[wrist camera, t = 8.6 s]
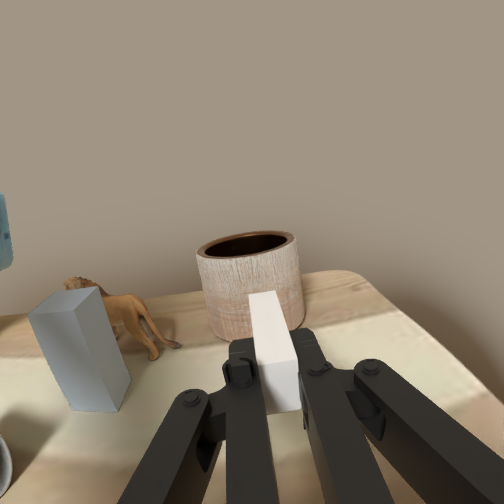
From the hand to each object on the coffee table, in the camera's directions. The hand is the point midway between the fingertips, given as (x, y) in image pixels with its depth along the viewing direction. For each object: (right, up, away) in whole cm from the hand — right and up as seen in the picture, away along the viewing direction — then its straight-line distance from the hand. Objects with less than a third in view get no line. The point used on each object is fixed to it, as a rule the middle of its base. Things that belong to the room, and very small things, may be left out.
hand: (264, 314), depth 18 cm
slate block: (-15, -10, +8) cm, 19 cm away
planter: (0, -5, +19) cm, 19 cm away
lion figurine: (-16, -8, +16) cm, 24 cm away
